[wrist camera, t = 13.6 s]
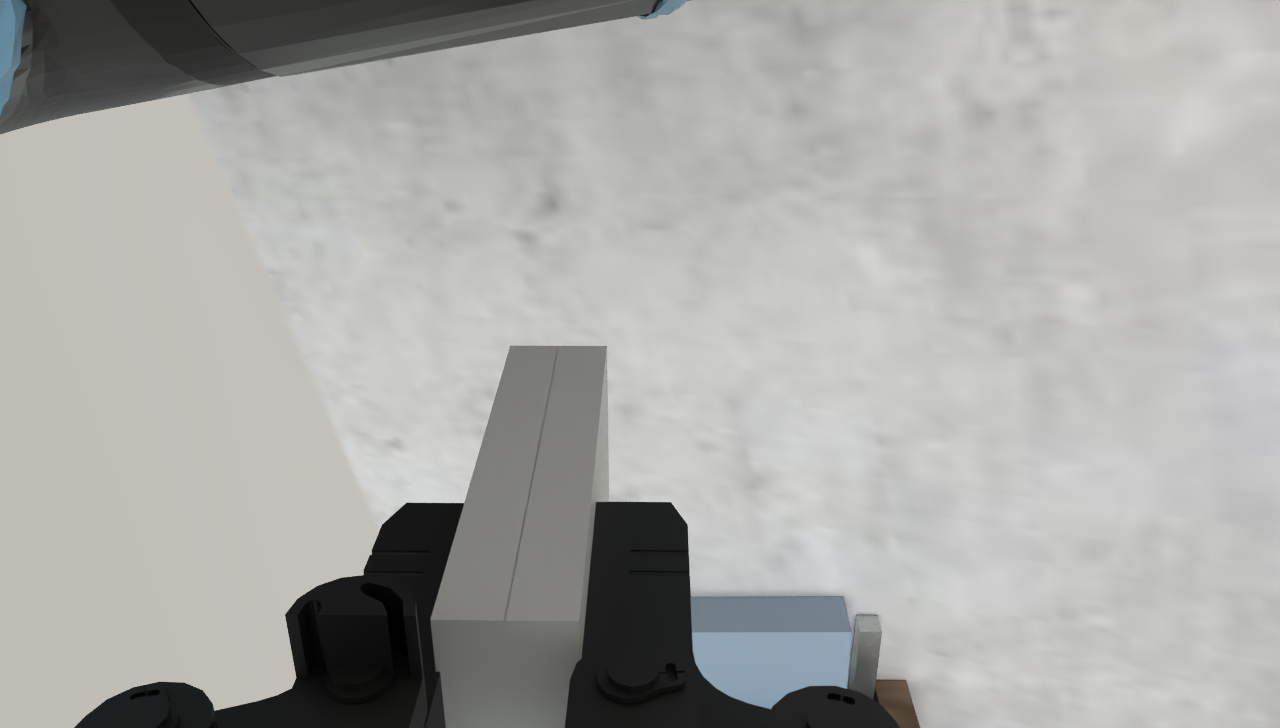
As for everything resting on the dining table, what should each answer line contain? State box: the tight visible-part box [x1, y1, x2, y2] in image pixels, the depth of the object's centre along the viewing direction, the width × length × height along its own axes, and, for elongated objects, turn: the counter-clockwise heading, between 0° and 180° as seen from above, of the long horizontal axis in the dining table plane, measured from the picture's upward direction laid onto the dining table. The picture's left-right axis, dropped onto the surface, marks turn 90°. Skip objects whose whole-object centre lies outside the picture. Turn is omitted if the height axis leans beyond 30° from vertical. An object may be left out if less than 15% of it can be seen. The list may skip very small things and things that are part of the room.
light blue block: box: [691, 596, 852, 709], centre depth 52 cm, size 10×9×3 cm
